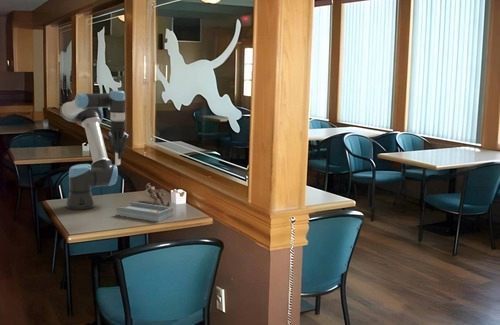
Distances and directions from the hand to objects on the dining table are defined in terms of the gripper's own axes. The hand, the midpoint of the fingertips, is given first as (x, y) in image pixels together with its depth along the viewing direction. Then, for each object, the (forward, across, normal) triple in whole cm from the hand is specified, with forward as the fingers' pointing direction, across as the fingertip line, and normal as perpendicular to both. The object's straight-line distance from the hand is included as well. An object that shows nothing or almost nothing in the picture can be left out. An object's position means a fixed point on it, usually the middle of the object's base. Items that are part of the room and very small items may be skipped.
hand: (117, 164), depth 309 cm
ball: (+25, +21, +3) cm, 32 cm away
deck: (+26, +15, +3) cm, 31 cm away
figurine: (+27, +8, +26) cm, 38 cm away
